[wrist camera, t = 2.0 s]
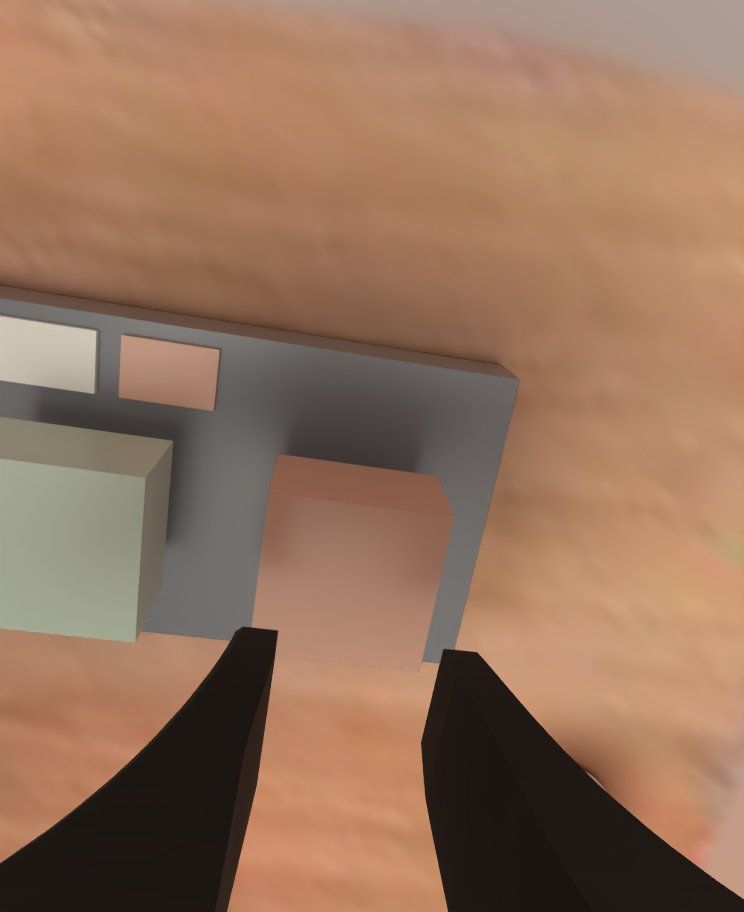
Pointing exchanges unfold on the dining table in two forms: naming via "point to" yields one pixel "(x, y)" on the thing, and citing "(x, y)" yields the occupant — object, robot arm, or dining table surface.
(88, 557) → the sage key
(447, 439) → the grey key panel base
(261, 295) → the dining table surface
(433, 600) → the terracotta key
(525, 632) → the dining table surface
